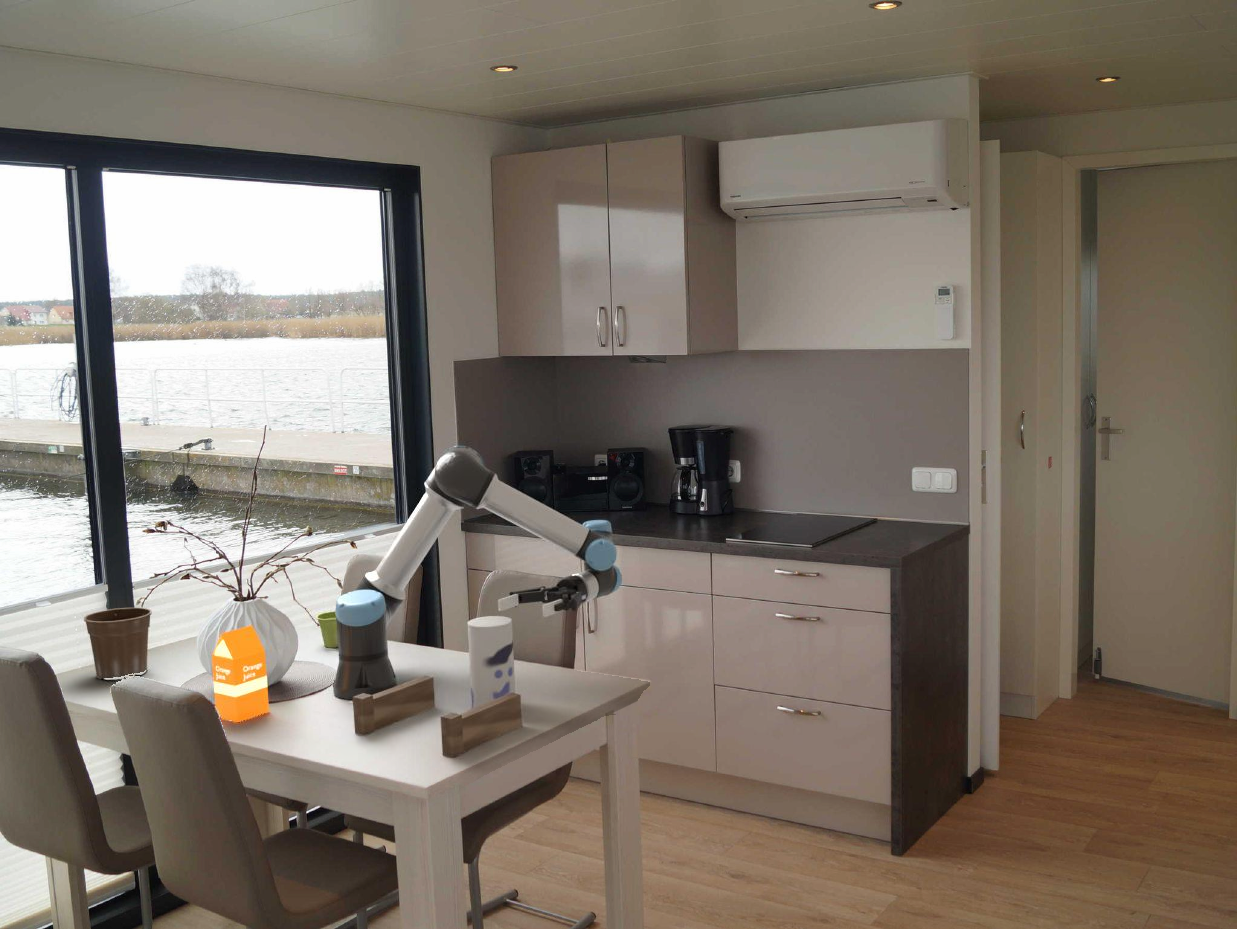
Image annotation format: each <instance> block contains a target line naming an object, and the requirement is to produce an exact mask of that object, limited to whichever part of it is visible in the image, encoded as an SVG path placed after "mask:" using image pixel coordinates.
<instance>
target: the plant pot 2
mask: <svg viewBox="0 0 1237 929" xmlns="http://www.w3.org/2000/svg"><path fill="white" fill-rule="evenodd" d="M315 618H316V620H317V622H318V624H319V628H320V632H321V637H322V641H323V646H325V647H326V648H328V649H329V648H333V649H335V648H337V647H338V636H337V621H336V615H335V610H334V611H333V610H332V611H327V612H322V613H319V614H317V615H316V616H315Z"/></svg>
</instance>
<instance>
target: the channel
mask: <svg viewBox="0 0 1237 929" xmlns="http://www.w3.org/2000/svg"><path fill="white" fill-rule="evenodd" d="M434 680H435V679H434V677H433V676H429V675H424V676H422V677H419V678H418V677H417V678H415V679H413V680H409V681H407V682H404V683H402V684H399V685H397V686H396V687H393V688H390V689H387V690H385V691H382V692H379V693H376V694H374V695H369V694H365V693H362V694H360V695H357V696H354V697H353V699H352V708H353V724H354V725H353V726H354V733H355V734H358V735H361V736H367V735H370V734H372V733H374V732H376V731H378V730H380V729H383V728H385V727H388V726H391V725H394V724H395V723H398V722H401V721H403V720H407V719H408V718H410V717H411V718H412V716H413V717H414V716H415V715H419V714H421V713H423V712H427V711H429V710H430V709H433V708H436V702H435V700H436V699H435V682H434ZM521 696H522V695H521V694H520V693H516V692H515V693H509V694H507V695H505V696H502V697H500V698H497V699H495V700H493V701H490V702H488V703H485V704H483V705H480V706H478V707H476V708H473V709H472V708H471V709H469V710H467V711H464V712H460V713H457V712H448V713H446V714H444V715H441V716H440V730H441V733H440V734H441V748H442V756H445V755H446V756H445V757H449V758H453V757H454V758H455V756H456V757H458V756H460V755H463V754H464V753H465V752H464V751H466V752H468V751H470V750H473V749H474V748H476V746H477V747H478V746H479V747H480V746H481V745H483V744H485V743H488V742H490V741H492V740H494V739H497V738H498V737H499V738H500V737H501V736H503V735H505V734H507V733H510V732H511V731H514V730H516V729H518V728H520V727H522V726H523V720H522V719H523V718H522V702H521V701H522V700H521V699H522V698H521ZM469 749H470V750H469ZM462 753H463V754H462ZM459 754H460V755H459Z"/></svg>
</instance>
